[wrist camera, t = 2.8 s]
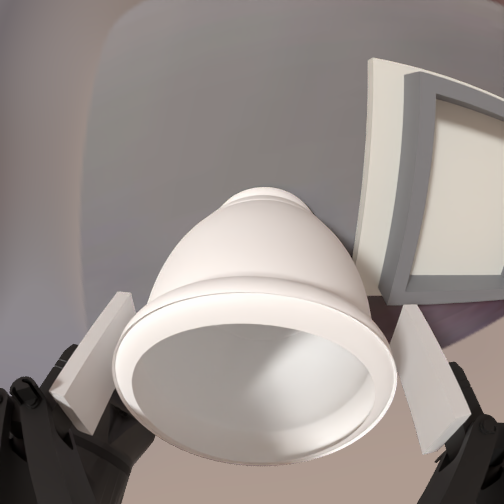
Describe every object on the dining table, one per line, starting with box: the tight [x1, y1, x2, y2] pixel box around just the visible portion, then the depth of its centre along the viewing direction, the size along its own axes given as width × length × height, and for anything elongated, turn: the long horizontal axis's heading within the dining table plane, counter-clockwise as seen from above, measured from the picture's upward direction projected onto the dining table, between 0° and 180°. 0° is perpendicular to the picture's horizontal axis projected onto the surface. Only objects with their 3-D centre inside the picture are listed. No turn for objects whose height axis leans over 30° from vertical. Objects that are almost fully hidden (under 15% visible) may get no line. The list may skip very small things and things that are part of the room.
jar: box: [112, 187, 397, 466], centre depth 16 cm, size 11×10×15 cm
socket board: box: [352, 58, 504, 305], centre depth 18 cm, size 20×18×4 cm
